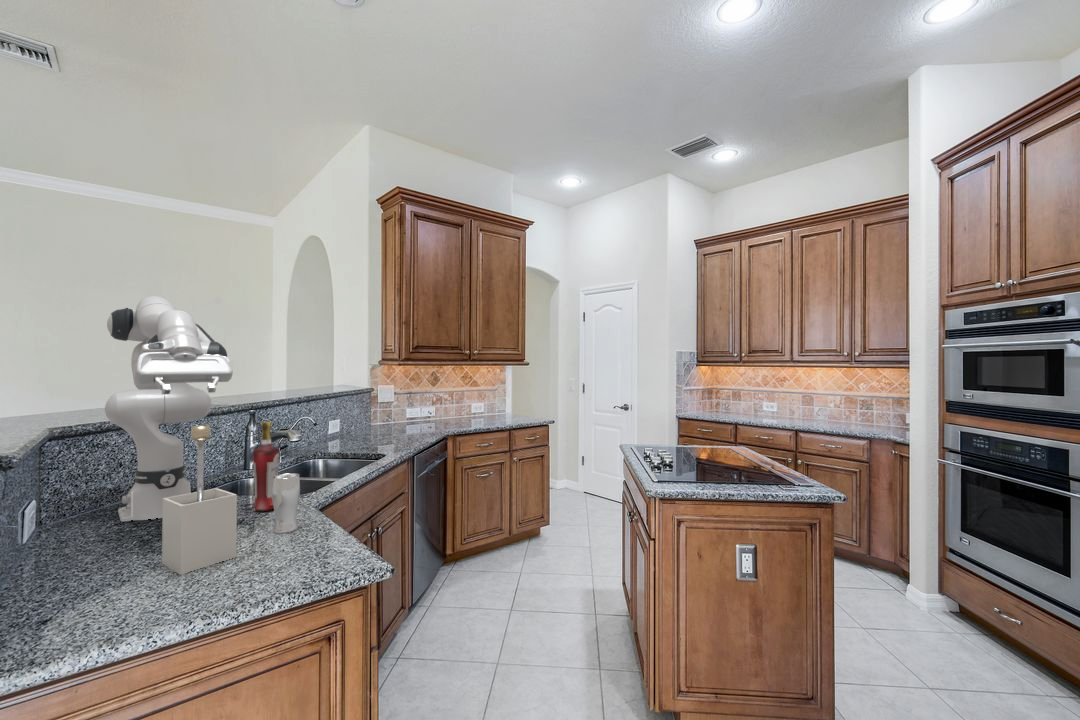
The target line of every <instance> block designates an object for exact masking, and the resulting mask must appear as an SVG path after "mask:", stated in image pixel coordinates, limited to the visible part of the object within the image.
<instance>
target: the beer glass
mask: <svg viewBox="0 0 1080 720" xmlns="http://www.w3.org/2000/svg"><path fill="white" fill-rule="evenodd" d="M300 495H301V482H300V473H296V472H295V473H292V472H291V473H282V474H281V473H280V474H278V475H276V476H274V477H273V482H272V502H273V507H274V509H273V513H274V526H273V532H274V533H275V534H287V533H288V534H289V533H292V532H295V531H297V530H298V529H299V523H298V517H297V515H298V507H299V503H300Z"/></svg>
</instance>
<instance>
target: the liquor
mask: <svg viewBox="0 0 1080 720" xmlns="http://www.w3.org/2000/svg"><path fill="white" fill-rule="evenodd" d="M271 430H272V421H262V422H261V431H262V432H261V441H260V447H258V448H255V449H254V450H253V451H252V459H253V460H252V463H253V464H252V466H253V467H252V468H253V480H254V483H253V484H254V505H253V509H254V510H256V511H257V512H258V511H267V512H270V511H269V510H271V511H273V510H274V507H273V502H272V482H273V477H274V476H276V475H279V467H280V464H279V462H280V449H279V448H278V447H276V446H274V445H273V444H272V435H271ZM272 509H273V510H272Z"/></svg>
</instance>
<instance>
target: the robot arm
mask: <svg viewBox="0 0 1080 720" xmlns="http://www.w3.org/2000/svg"><path fill="white" fill-rule="evenodd" d="M106 327H107V330H108V332H109V334H110V336H111V337H112V338H113V339H114V340H118V341H123V342H124V341H125V342H127V341H132V342H140V343H137V344H136V345H135V347H134V348H133V350H132V354H131V359H130V360H131V364H130V365H131V372H132V378H133V383H134V385H135V387H136V389H130V390H124V391H121V392H116V393H113V394H112V395H111V396H110V397H109V398H108V399H107V401H106V402H105V405H104V406H105V407H104V412H105V416H106V417H107V420H109V421H110V422H111V423H112V424H114V425H115V426H116V427H119V428H121V429H123V430H124V431H125V432H126V433H128V434H129V435H130V437H131V439H132V440H133V442H134V444H135V448H136V455H137V470H136V471H135V475H134V482H135V483H134V485H133V486H132V487H131V488H130V490H129V491H128V493H127V494H126V495H122V496H121V503H122V504H126V506H123V507H119V508H118V510H117V513H118V517H119V520H120V522H131V520H133V521H149V520H148V519H151V520H157V519H156V518H158V519H162V518H163V498H168V497H173V496H178V495H183V494H189V493H192V492H191V491H192V490H191V483H190V481H189V480H187V479H186V478H185V476H186V467H185V465H184V443H183V440H181V438H179V437H178V436H175V435H173V434H169V433H167V432H162V431H161V430H160V428H159V427H160V426H159V425H164V424H165V425H166V424H175V423H189V422H192V421H193V422H194V421H197V420H201V419H204V418H206V417H207V416H208V414H209V413H210V411H211V409H212V403H213V402H212V399H211V396H210V393H216V390H217V385H218V383H228V382H230V380H231V379H232V377H233V373H234V372H233V370H234V369H233V368H232V365H231V362H230V358H229V357H228V352H227V350H226V348H225V347H224V346H223V345H222V344H221V343H220V342H218V341H215V339H213V338H212V337H211V336H210V334H208V333H207V332H206V331H205V329H204V328H202V327H201V325H199V324H198V323H196V322H195V320H194V318H193V317H192V315H191V314H190V313H189V312H186V311H184V310H178V309H177V308H176V306H174V304H173V303H172V302H171V301H170V300H168V299H167V298H165V297H163V296H158V295H149V296H146V297H144V298H142V299H141V300H140V301H139V302H138V303H137V305H136V308H129V307H125V308H121V309H120V308H119V309H116V310H114V311H112V312H110V316H109V317H108V318H107V322H106ZM188 383H208V384H207V388H206V389H207V391H205V390H203V389H200V388H198V387H194V386H192V385H190V384H188Z"/></svg>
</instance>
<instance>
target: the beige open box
mask: <svg viewBox="0 0 1080 720" xmlns="http://www.w3.org/2000/svg"><path fill="white" fill-rule="evenodd" d="M212 498H214V499H212ZM207 499H210V500H207ZM203 500H205V501H201V502H197V491H194V492H191V493H189V494H183V495H178V496H173V497H168V498H163V518H161V519H162V531H161V533H162V534H161V536H162V537H161V564H162V565H163V566H166V567H167V568H169V569H170V570H171V571H174V572H175V573H176V574H178V575H180V576H182V574H183V575H185V573H186V574H188V572H189V573H191V572H190V571H192V572H195V571H198V570H197V569H199V570H201V569H200V568H202V569H204V568H203V567H205V568H207V567H206V566H208V567H210V566H209V565H211V566H214V565H213V564H215V563H218V564H220V563H219V562H221V563H223V562H222V561H224V562H227V561H230V560H233V559H232V558H234V559H236V558H237V541H238V540H237V539H238V538H237V537H238V536H237V533H238V532H237V530H238V529H237V525H238V524H237V522H238V521H237V518H238V516H237V515H238V514H237V513H238V512H237V509H238V507H237V506H238V503H237V502H238V494H236V493H233V492H230V491H228V490H223V489H220V488H218V487H216V488H215V487H213V488H210V489H205V490H204V489H203ZM193 502H196V503H193ZM188 503H191V504H188ZM183 504H186V505H183ZM235 557H236V558H235ZM229 559H230V560H229ZM226 560H227V561H226ZM215 565H216V564H215ZM194 570H195V571H194Z"/></svg>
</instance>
